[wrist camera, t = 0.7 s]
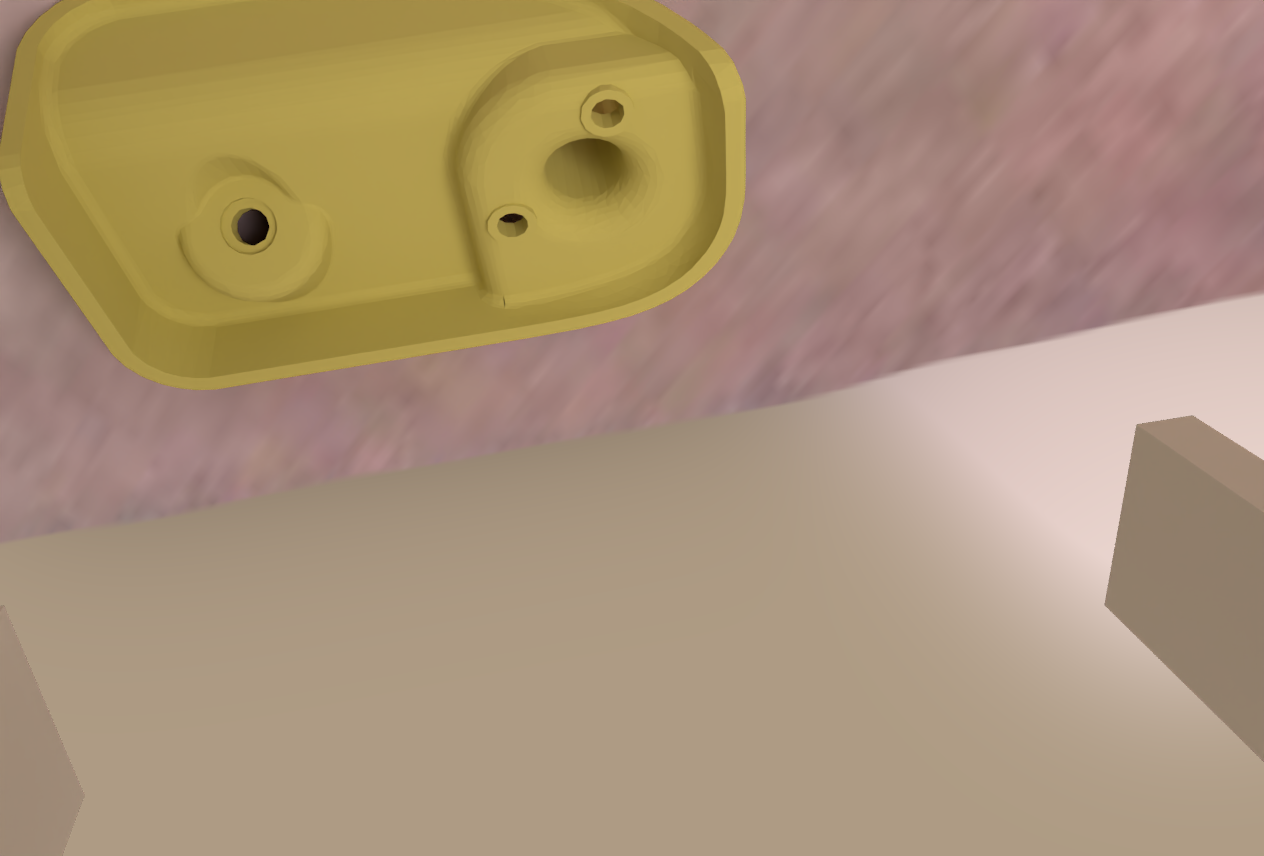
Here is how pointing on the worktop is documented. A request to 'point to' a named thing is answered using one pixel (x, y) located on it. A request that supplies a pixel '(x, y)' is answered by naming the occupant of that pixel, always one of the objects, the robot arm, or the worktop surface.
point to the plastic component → (367, 173)
